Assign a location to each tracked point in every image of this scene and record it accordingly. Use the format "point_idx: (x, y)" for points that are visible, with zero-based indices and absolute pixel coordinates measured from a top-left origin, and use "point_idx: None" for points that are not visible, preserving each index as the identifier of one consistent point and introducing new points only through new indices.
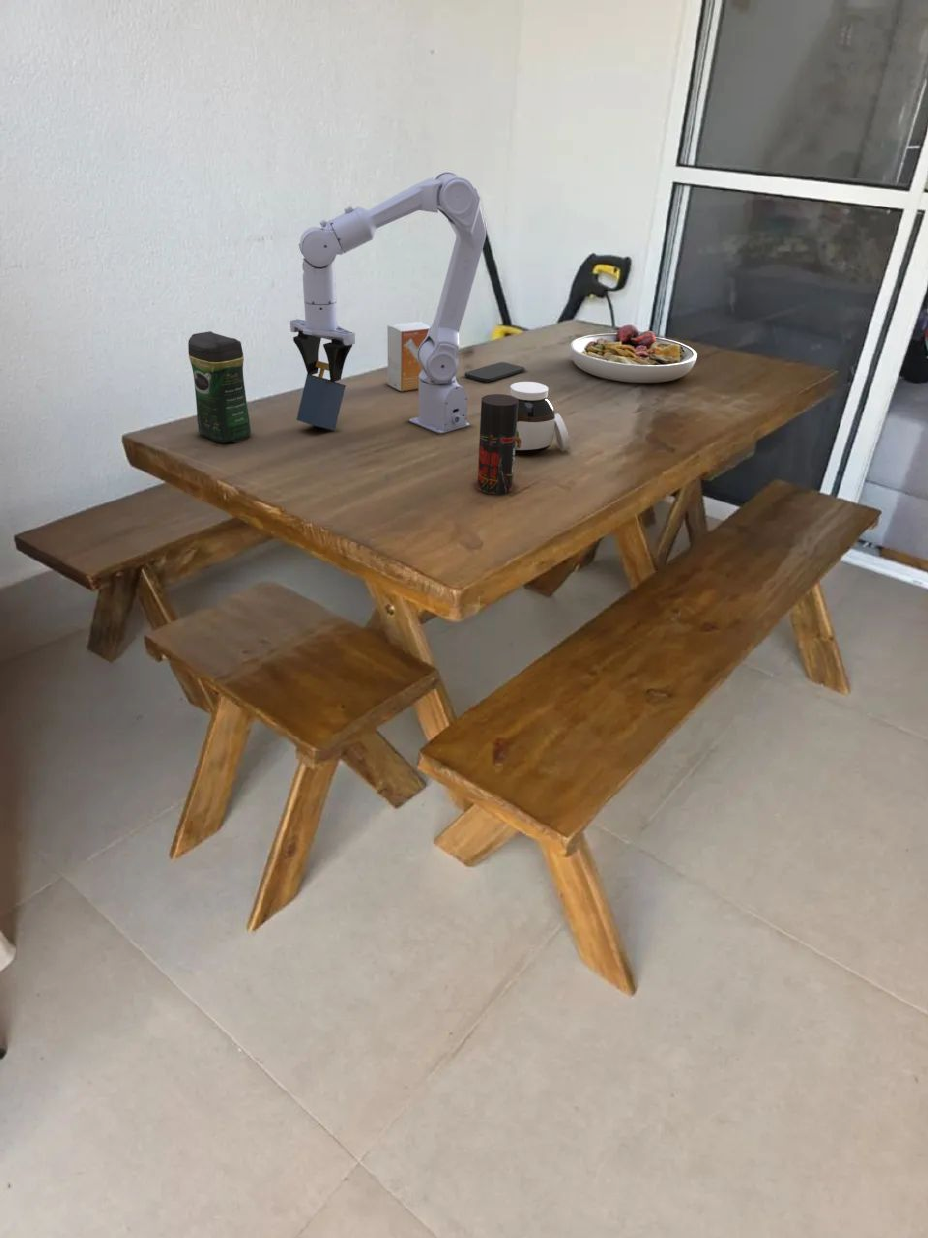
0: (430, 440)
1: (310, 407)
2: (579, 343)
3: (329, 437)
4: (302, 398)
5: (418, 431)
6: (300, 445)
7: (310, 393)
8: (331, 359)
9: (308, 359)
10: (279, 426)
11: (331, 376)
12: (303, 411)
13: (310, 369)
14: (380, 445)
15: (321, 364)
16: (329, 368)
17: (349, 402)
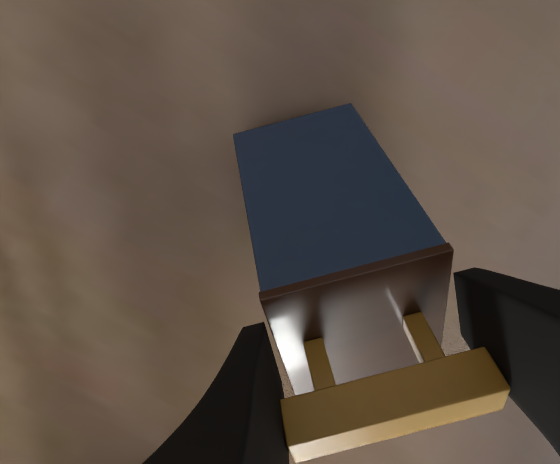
0: (16, 440)
1: (300, 158)
2: None
3: (216, 179)
4: (377, 156)
5: (113, 450)
6: (194, 27)
7: (341, 192)
8: (188, 428)
9: (526, 324)
10: (440, 76)
11: (245, 337)
12: (331, 132)
13: (474, 295)
14: (45, 290)
15: (447, 383)
16: (248, 363)
17: None
